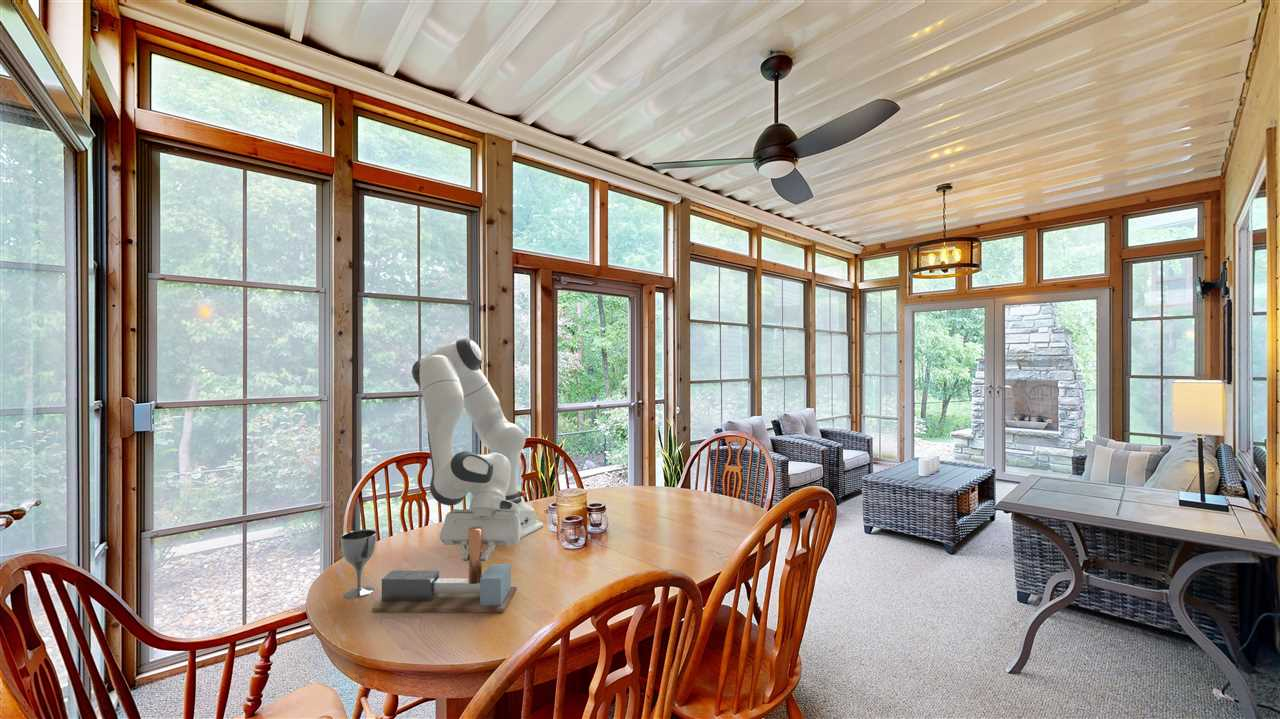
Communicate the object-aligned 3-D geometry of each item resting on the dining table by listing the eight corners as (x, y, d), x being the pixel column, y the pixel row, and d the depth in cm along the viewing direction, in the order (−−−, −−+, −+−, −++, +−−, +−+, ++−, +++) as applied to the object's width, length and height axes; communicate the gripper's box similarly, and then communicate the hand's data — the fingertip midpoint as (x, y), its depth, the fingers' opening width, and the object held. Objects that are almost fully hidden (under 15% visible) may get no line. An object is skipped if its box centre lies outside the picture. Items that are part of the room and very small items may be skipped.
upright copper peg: (418, 593, 130) (418, 530, 130) (424, 588, 133) (424, 526, 133) (491, 594, 129) (491, 530, 129) (495, 588, 133) (495, 526, 133)
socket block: (480, 605, 126) (480, 578, 126) (491, 589, 135) (491, 563, 135) (500, 605, 126) (500, 578, 126) (510, 589, 135) (510, 563, 135)
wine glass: (334, 599, 132) (334, 539, 132) (352, 585, 140) (352, 529, 140) (366, 599, 132) (366, 539, 132) (381, 585, 140) (381, 529, 140)
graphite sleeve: (381, 601, 129) (381, 579, 129) (392, 591, 134) (392, 570, 134) (430, 601, 128) (430, 579, 128) (439, 591, 134) (439, 570, 134)
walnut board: (372, 611, 125) (372, 607, 125) (396, 589, 137) (396, 586, 137) (503, 612, 125) (503, 608, 125) (516, 590, 137) (516, 586, 137)
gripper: (444, 503, 138) (429, 554, 128) (522, 503, 138) (512, 554, 128) (451, 515, 143) (436, 565, 133) (526, 515, 142) (517, 566, 132)
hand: (474, 560), depth 130 cm, fingers closed on upright copper peg, 3 cm apart
